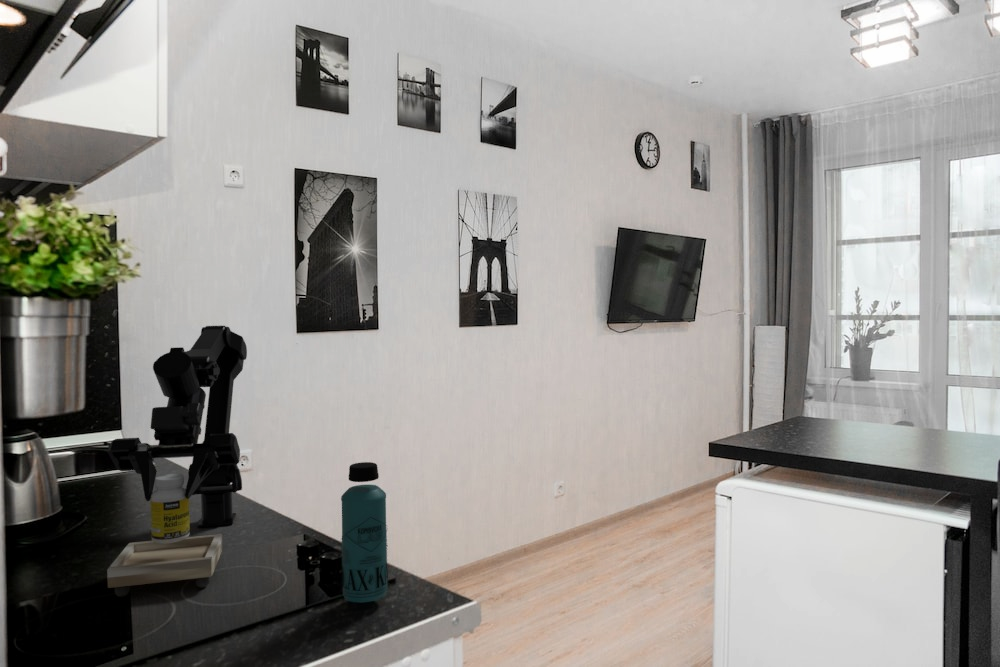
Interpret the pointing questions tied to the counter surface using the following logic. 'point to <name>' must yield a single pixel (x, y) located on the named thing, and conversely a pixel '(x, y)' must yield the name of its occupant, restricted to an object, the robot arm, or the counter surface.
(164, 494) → the supplement bottle
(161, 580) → the shallow square tray
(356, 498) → the beverage bottle
